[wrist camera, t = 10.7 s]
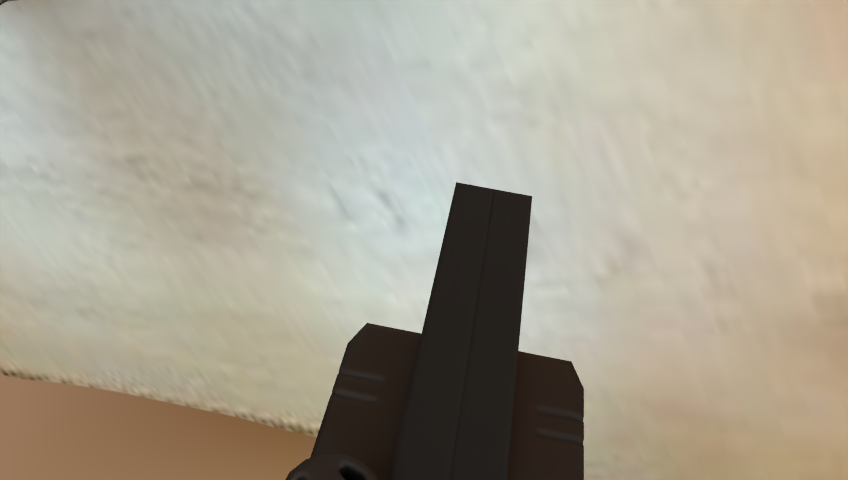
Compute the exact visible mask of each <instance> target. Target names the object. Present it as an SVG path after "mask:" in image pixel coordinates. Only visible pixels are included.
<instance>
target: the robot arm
mask: <svg viewBox="0 0 848 480" xmlns="http://www.w3.org/2000/svg"><path fill="white" fill-rule="evenodd" d="M7 1H15V0H0V5H1V4H3V3H5V2H7ZM531 202H532V196H527V195H522V194H516V193H511V192H506V191H500V190H495V189H489V188H484V187H478V186H473V185H468V184H462V183H457V182H456V186H455V191H454V195H453V199H452V204H451V208H450V212H449V217H448V221H447V226H446V230H445V234H444V239H443V243H442V247H441V252H440V256H439V261H438V265H437V269H436V274H435V278H434V283H433V287H432V291H431V296H430V300H429V304H428V309H427V313H426V318H425V322H424V326H423V331H422V334H420V333H415V332H410V331H405V330H400V329H395V328H390V327H385V326H379V325H374V324H369V323H367V324H366V325H365V326H364V327H363V328H362V329H361V330H360V331H359V332H358V333H357V334H356V335H355V336H354V337H353V339H352V340H351V341H350V342H349V343H348V345H347V348H346V351H345V354H344V357H343V360H342V363H341V366H340V369H339V374H338V375H337V378H336V381H335V384H334V387H333V390H332V395H331V396H330V399H329V402H328V405H327V409H326V412H325V415H324V418H323V421H322V424H321V427H320V430H319V433H318V436H317V439H316V442H315V445H314V448H313V452H312V454H311V457H310V458H309V459H306V460H305V461H303V462H302V463H301V464H300V465H299V466H297V467H296V468H295V469H293V470H292V471H291V472H290V473H289V474H288V477H287V478H286V480H584V446H583V440H584V422H583V417H584V389H583V386H582V384H581V382H580V380H579V377H578V375H577V373H576V371H575V369H574V366H573V364H572V362H570V361H565V360H560V359H555V358H550V357H545V356H540V355H535V354H530V353H525V352H520V351H518V346H519V335H520V324H521V313H522V302H523V291H524V280H525V269H526V258H527V247H528V235H529V224H530V213H531Z"/></svg>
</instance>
